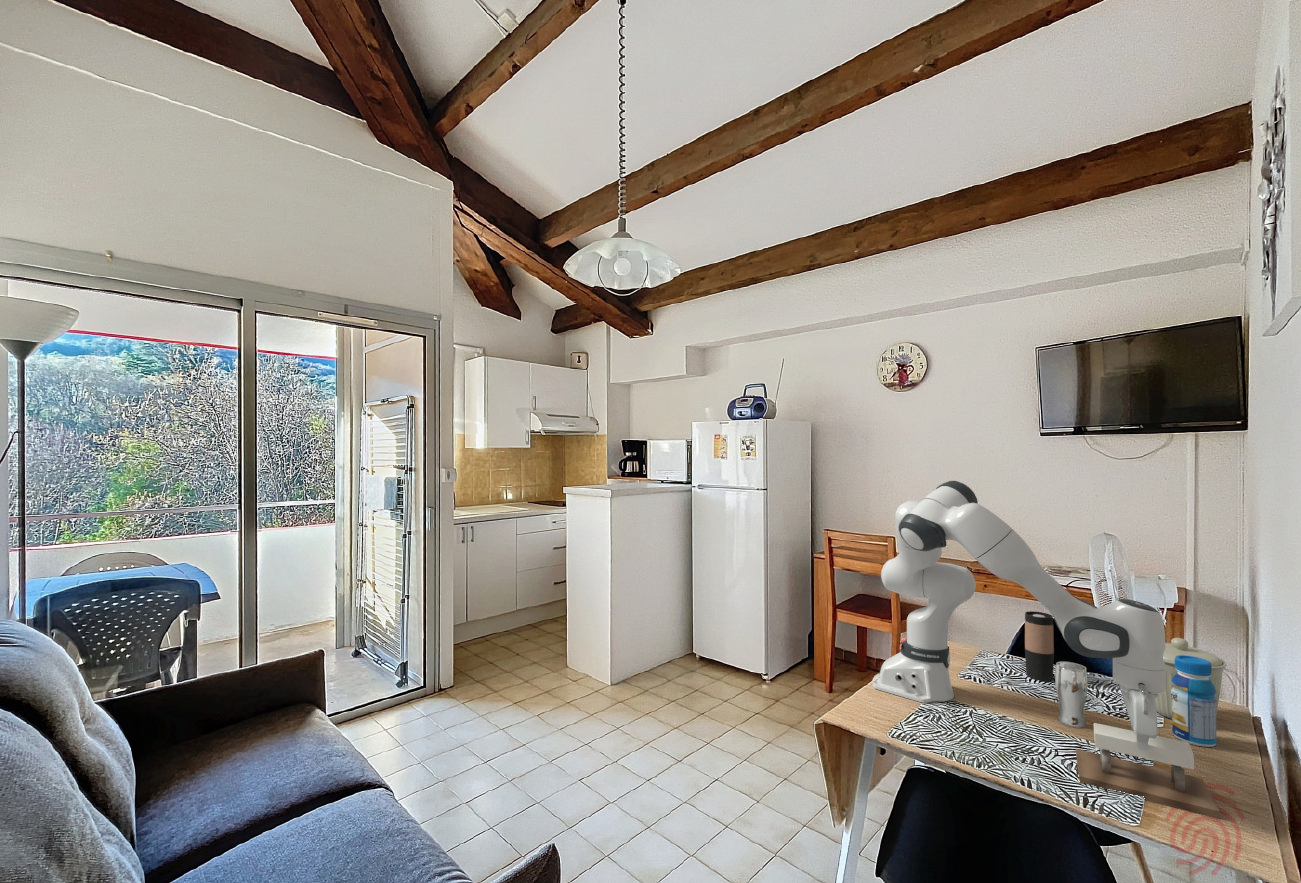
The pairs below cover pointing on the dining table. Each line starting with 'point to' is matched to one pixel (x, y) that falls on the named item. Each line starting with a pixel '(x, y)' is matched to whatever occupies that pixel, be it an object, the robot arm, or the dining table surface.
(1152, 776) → the peg stand
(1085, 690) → the beer glass
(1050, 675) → the travel mug
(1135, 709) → the robot arm
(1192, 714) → the beverage bottle
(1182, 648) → the canister
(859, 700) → the dining table surface
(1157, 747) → the shelf board
